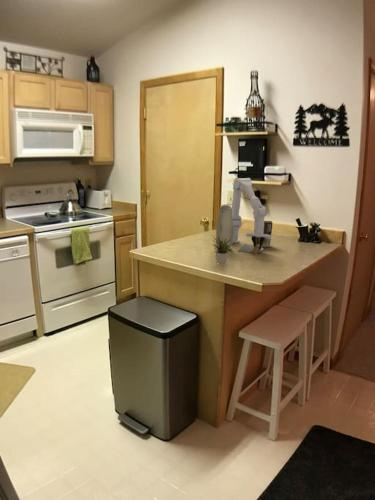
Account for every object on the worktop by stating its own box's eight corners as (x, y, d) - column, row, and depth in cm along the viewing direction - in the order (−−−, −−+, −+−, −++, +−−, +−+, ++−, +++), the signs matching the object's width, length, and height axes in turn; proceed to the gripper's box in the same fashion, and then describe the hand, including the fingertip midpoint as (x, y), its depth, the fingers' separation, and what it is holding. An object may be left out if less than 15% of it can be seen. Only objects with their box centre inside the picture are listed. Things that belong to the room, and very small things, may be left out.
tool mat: (237, 251, 246) (237, 250, 246) (245, 244, 263) (245, 244, 263) (250, 252, 243) (250, 252, 243) (257, 246, 260) (257, 245, 260)
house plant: (202, 264, 217) (203, 234, 213) (211, 258, 229) (212, 230, 225) (227, 268, 211) (228, 237, 207) (235, 261, 223) (236, 232, 219)
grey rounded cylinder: (218, 247, 255) (219, 203, 248) (233, 248, 252) (236, 204, 245) (213, 250, 246) (215, 205, 239) (230, 252, 243) (232, 206, 236)
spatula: (259, 254, 239) (259, 248, 238) (250, 253, 241) (251, 247, 240) (263, 249, 252) (264, 243, 251) (255, 248, 254) (256, 242, 253)
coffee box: (268, 245, 263) (272, 220, 259) (269, 247, 257) (273, 222, 253) (254, 243, 264) (257, 219, 260) (255, 246, 258) (258, 221, 253)
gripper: (245, 227, 241) (244, 249, 245) (269, 229, 236) (268, 251, 240) (248, 225, 248) (247, 246, 251) (271, 227, 243) (270, 249, 246)
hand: (257, 248), depth 246 cm, fingers closed on spatula, 2 cm apart
